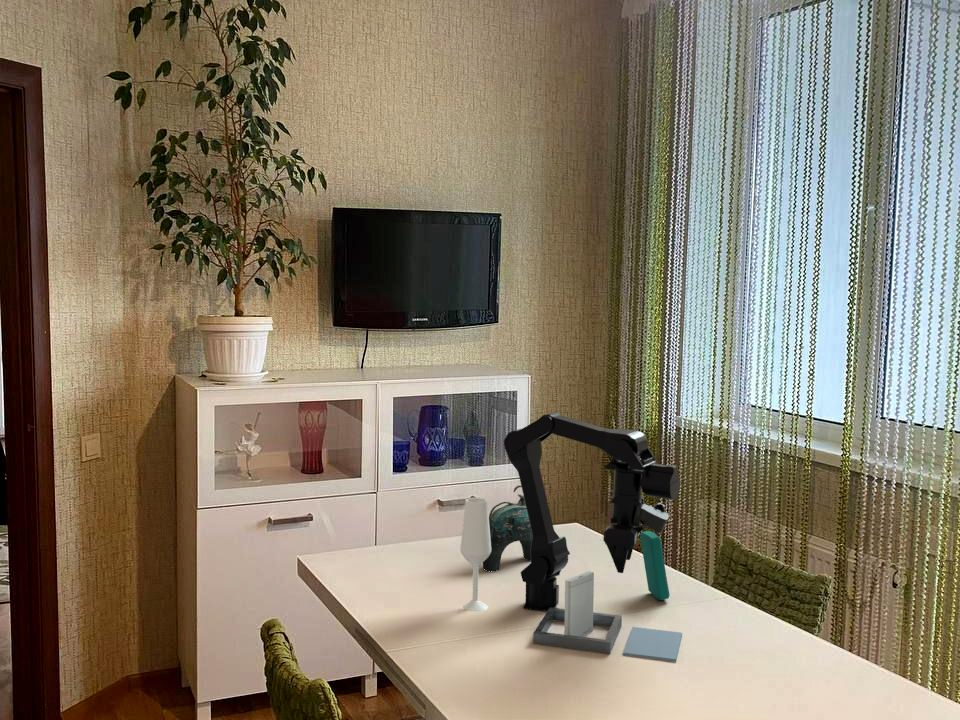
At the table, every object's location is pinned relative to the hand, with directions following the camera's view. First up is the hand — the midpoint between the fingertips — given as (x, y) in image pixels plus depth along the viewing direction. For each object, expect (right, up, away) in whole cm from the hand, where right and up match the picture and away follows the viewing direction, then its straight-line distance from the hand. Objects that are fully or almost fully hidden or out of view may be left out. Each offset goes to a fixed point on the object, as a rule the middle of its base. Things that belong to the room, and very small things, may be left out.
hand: (624, 566), depth 196 cm
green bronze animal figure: (-21, -9, +41) cm, 47 cm away
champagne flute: (-31, -12, +10) cm, 34 cm away
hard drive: (-10, -13, -5) cm, 17 cm away
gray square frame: (-10, -13, -5) cm, 17 cm away
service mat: (+4, -14, -9) cm, 17 cm away
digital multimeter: (+9, -11, +18) cm, 24 cm away
